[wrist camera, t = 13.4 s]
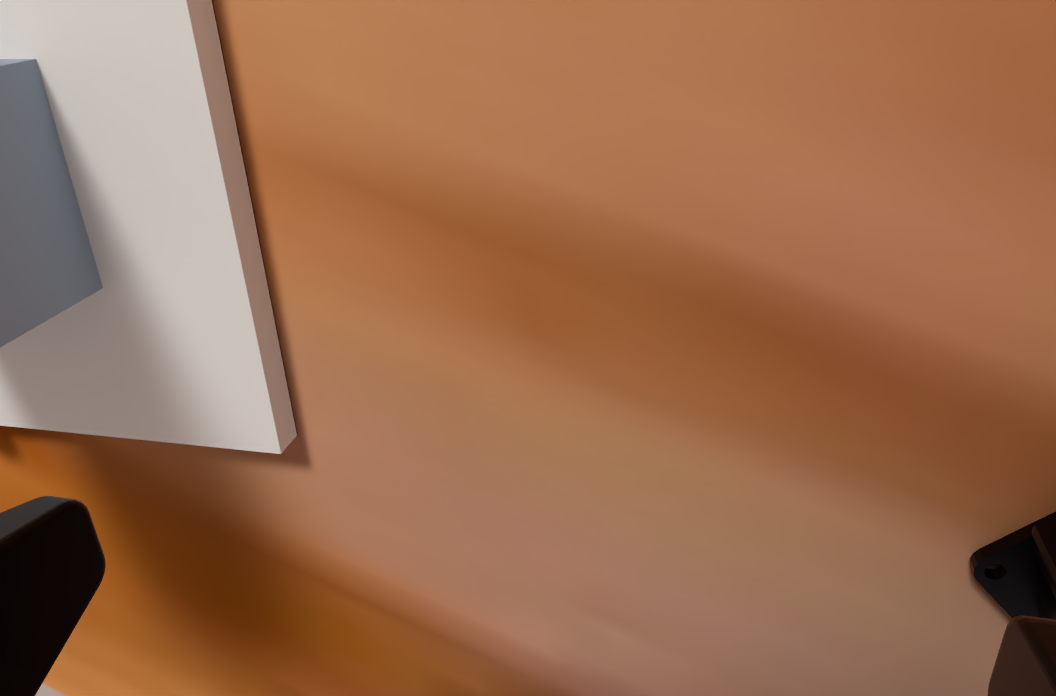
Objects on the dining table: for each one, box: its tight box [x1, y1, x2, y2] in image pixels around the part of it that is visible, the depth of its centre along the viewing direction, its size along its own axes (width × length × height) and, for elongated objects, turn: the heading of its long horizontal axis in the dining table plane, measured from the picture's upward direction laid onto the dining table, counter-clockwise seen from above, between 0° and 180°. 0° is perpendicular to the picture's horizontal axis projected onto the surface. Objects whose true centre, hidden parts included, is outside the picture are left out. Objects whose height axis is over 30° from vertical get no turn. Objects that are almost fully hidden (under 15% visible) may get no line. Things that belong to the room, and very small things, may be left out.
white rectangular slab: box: [0, 0, 297, 454], centre depth 22 cm, size 12×16×2 cm
